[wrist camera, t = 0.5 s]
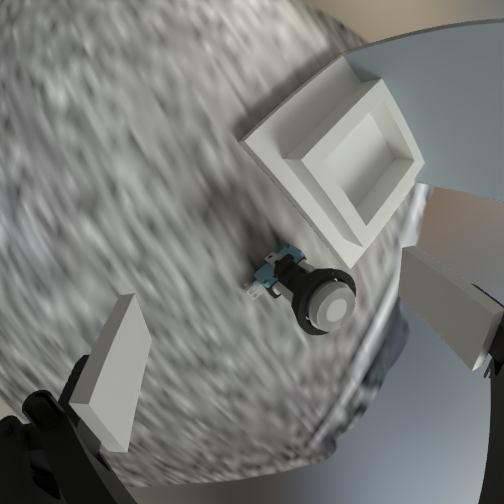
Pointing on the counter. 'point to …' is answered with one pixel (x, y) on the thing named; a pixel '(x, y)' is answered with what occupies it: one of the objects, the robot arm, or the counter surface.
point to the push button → (307, 290)
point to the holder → (388, 130)
